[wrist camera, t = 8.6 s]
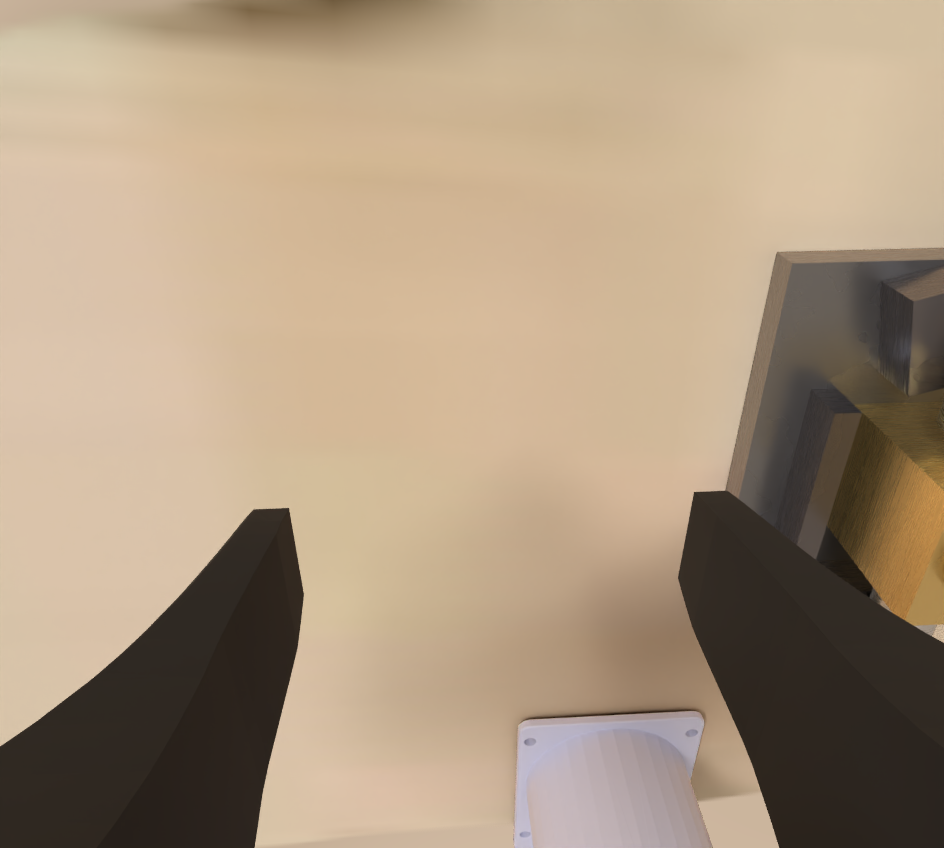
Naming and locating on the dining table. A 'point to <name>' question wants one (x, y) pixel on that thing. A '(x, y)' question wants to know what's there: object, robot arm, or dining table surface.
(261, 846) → the dining table surface
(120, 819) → the robot arm
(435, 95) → the dining table surface
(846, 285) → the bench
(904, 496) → the coupler
